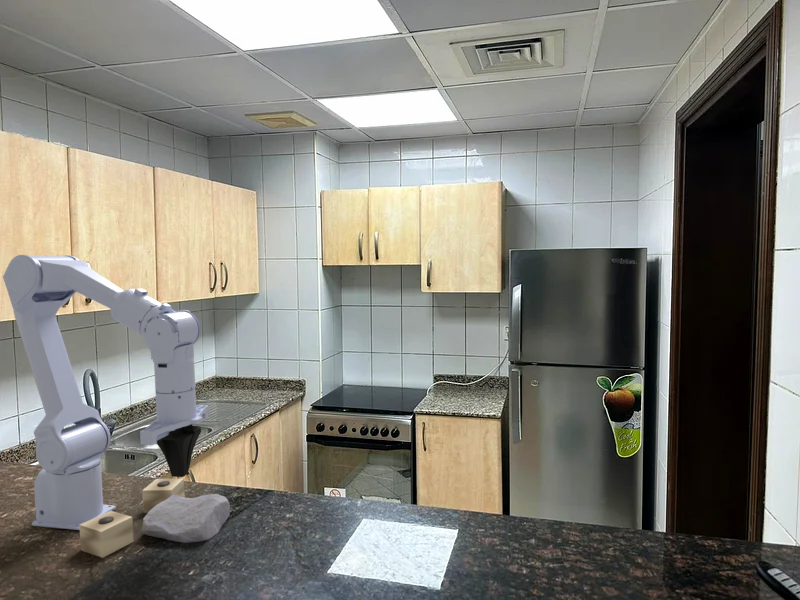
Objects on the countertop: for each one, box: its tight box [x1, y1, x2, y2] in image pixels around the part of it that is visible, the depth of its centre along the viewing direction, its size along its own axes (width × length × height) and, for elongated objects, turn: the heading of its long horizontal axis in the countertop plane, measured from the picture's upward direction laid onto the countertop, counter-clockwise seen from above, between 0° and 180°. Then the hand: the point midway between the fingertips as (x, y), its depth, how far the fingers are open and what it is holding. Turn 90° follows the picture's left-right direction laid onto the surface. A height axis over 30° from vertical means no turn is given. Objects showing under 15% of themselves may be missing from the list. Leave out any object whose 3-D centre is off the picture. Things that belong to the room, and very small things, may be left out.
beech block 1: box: [79, 510, 135, 559], centre depth 80 cm, size 5×5×4 cm
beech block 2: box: [141, 477, 186, 514], centre depth 93 cm, size 5×5×4 cm
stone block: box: [141, 493, 231, 544], centre depth 85 cm, size 12×5×10 cm
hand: (179, 475), depth 84 cm, fingers closed
